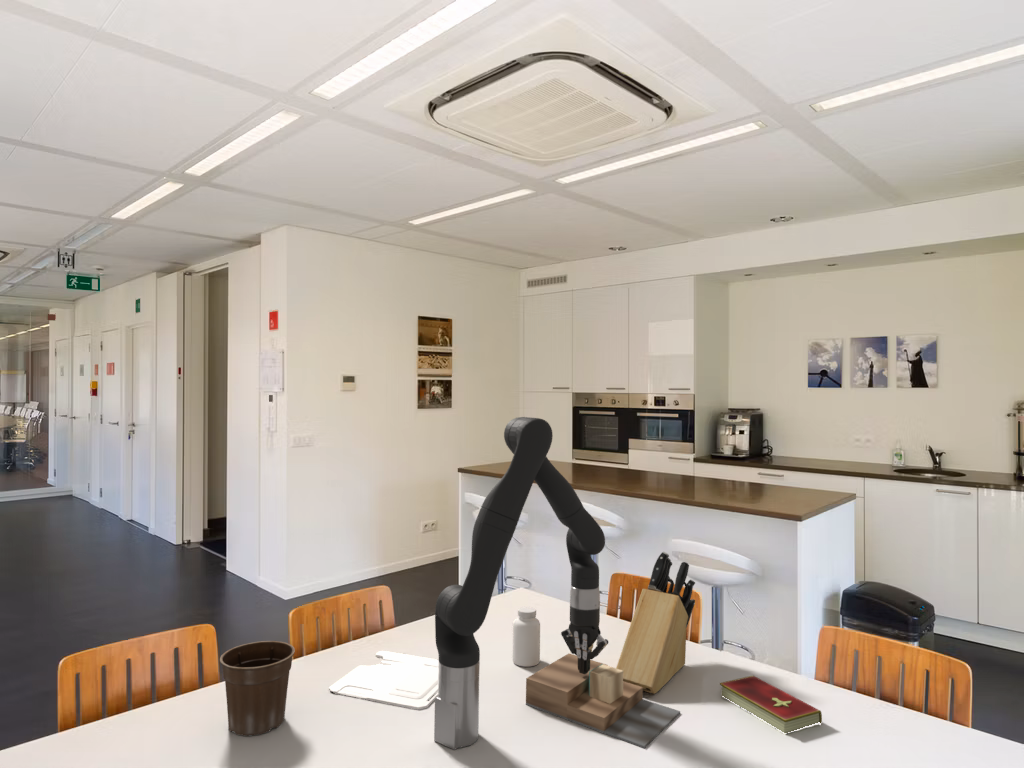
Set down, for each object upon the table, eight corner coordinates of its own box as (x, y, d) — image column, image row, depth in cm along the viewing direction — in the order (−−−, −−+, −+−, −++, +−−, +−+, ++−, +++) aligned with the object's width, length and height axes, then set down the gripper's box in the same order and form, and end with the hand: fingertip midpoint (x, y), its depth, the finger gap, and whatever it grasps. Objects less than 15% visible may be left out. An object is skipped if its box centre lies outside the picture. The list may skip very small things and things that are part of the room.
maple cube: (588, 695, 159) (609, 703, 155) (589, 671, 159) (610, 678, 155) (602, 687, 164) (622, 695, 160) (602, 663, 164) (623, 670, 160)
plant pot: (220, 712, 156) (222, 644, 156) (292, 701, 161) (293, 636, 162) (215, 747, 140) (217, 672, 141) (294, 734, 146) (296, 662, 146)
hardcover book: (753, 690, 173) (754, 674, 173) (821, 727, 154) (821, 709, 154) (719, 698, 168) (719, 682, 168) (785, 737, 149) (785, 719, 149)
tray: (325, 694, 167) (325, 688, 167) (381, 653, 193) (381, 648, 193) (423, 713, 158) (423, 706, 158) (468, 667, 184) (468, 662, 184)
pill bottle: (540, 657, 191) (541, 605, 191) (538, 668, 183) (539, 615, 183) (513, 655, 192) (514, 604, 192) (510, 666, 184) (511, 613, 184)
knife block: (697, 655, 194) (698, 551, 195) (652, 700, 165) (654, 577, 166) (661, 646, 201) (662, 545, 201) (612, 688, 172) (613, 570, 172)
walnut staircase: (644, 748, 142) (644, 718, 143) (525, 704, 162) (526, 678, 162) (680, 713, 158) (680, 686, 159) (568, 677, 178) (568, 653, 178)
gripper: (554, 602, 165) (553, 670, 164) (600, 613, 157) (599, 685, 157) (570, 594, 171) (569, 661, 171) (615, 605, 163) (614, 674, 163)
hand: (583, 672), depth 164 cm, fingers closed
